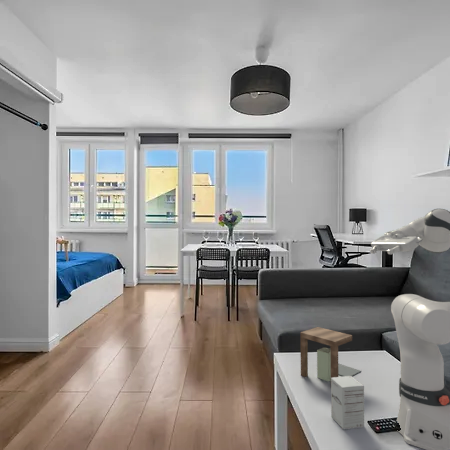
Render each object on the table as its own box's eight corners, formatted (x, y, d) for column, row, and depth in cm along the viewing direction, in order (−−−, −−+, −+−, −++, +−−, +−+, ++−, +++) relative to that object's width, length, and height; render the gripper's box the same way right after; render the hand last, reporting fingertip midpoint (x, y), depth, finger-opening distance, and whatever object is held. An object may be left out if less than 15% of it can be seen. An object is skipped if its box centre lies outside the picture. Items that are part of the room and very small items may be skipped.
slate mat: (361, 371, 147) (361, 370, 147) (348, 378, 140) (348, 377, 140) (335, 363, 156) (335, 362, 156) (322, 369, 150) (322, 368, 150)
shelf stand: (352, 379, 139) (352, 335, 139) (335, 389, 131) (335, 341, 131) (318, 367, 151) (317, 326, 151) (300, 375, 143) (300, 332, 144)
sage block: (335, 378, 141) (335, 350, 141) (328, 381, 138) (327, 353, 138) (324, 374, 145) (324, 347, 145) (317, 377, 141) (317, 350, 142)
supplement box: (330, 417, 112) (330, 377, 112) (352, 414, 113) (351, 375, 113) (342, 430, 104) (342, 387, 105) (365, 427, 106) (364, 385, 106)
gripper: (428, 245, 138) (403, 260, 133) (388, 245, 157) (365, 258, 153) (422, 230, 137) (397, 245, 133) (383, 232, 156) (360, 245, 152)
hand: (380, 252), depth 143 cm, fingers open, 8 cm apart
